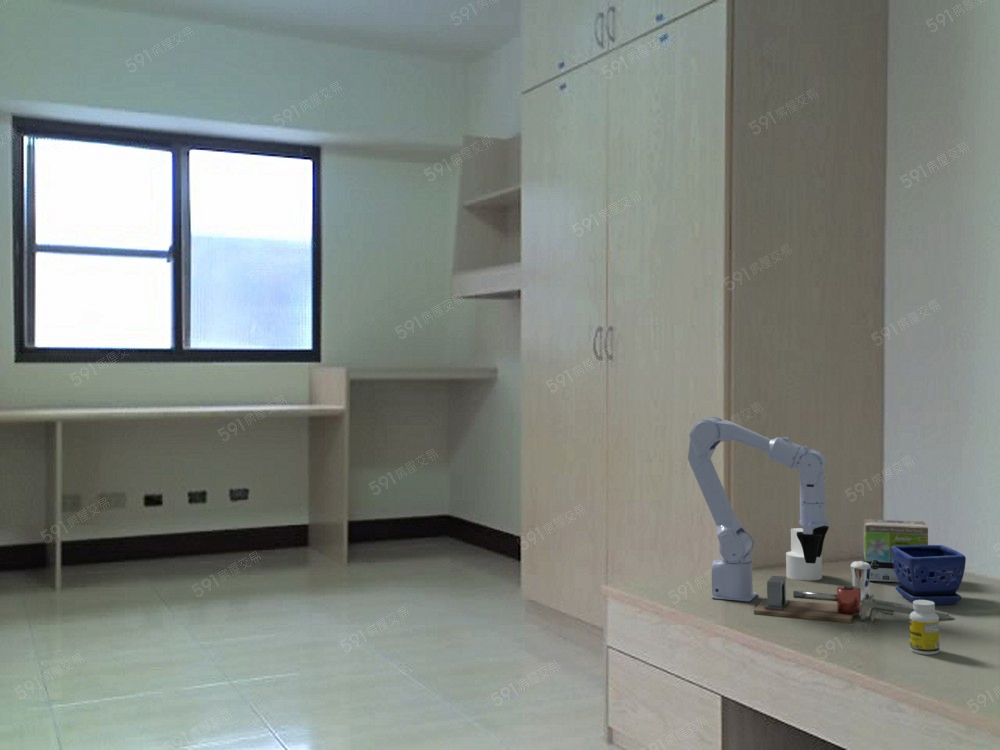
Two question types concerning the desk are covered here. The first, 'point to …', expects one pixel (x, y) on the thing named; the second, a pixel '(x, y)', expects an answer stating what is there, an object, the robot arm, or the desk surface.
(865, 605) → the caliper
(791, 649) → the desk surface
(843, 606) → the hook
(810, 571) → the base with upright slab
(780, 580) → the slotted metal block
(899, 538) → the tea box
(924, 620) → the supplement bottle
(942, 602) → the flower pot
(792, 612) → the board
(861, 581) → the milkshake
